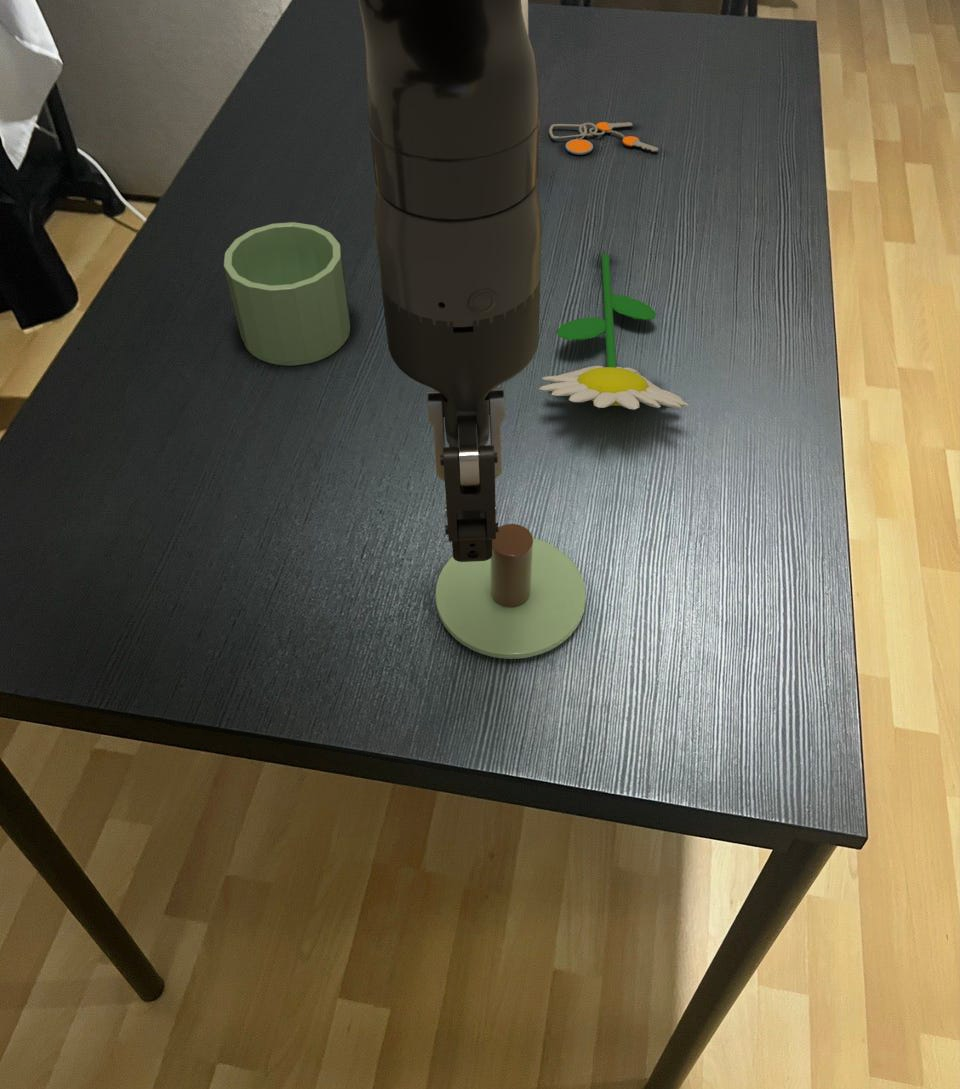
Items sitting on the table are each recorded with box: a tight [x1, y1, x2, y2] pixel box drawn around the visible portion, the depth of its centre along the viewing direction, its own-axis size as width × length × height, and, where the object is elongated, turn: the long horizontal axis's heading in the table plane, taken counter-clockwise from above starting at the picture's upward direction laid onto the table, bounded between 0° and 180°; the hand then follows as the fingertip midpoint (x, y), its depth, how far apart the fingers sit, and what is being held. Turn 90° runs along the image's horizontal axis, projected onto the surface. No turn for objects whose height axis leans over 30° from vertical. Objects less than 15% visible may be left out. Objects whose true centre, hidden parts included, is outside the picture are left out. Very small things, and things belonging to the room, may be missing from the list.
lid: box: [435, 523, 587, 660], centre depth 72 cm, size 11×11×7 cm
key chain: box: [548, 121, 660, 155], centre depth 118 cm, size 13×7×1 cm, turn 88°
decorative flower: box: [538, 253, 690, 411], centre depth 92 cm, size 13×5×30 cm
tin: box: [223, 221, 352, 367], centre depth 93 cm, size 10×10×8 cm
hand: (469, 500), depth 59 cm, fingers open, 8 cm apart
